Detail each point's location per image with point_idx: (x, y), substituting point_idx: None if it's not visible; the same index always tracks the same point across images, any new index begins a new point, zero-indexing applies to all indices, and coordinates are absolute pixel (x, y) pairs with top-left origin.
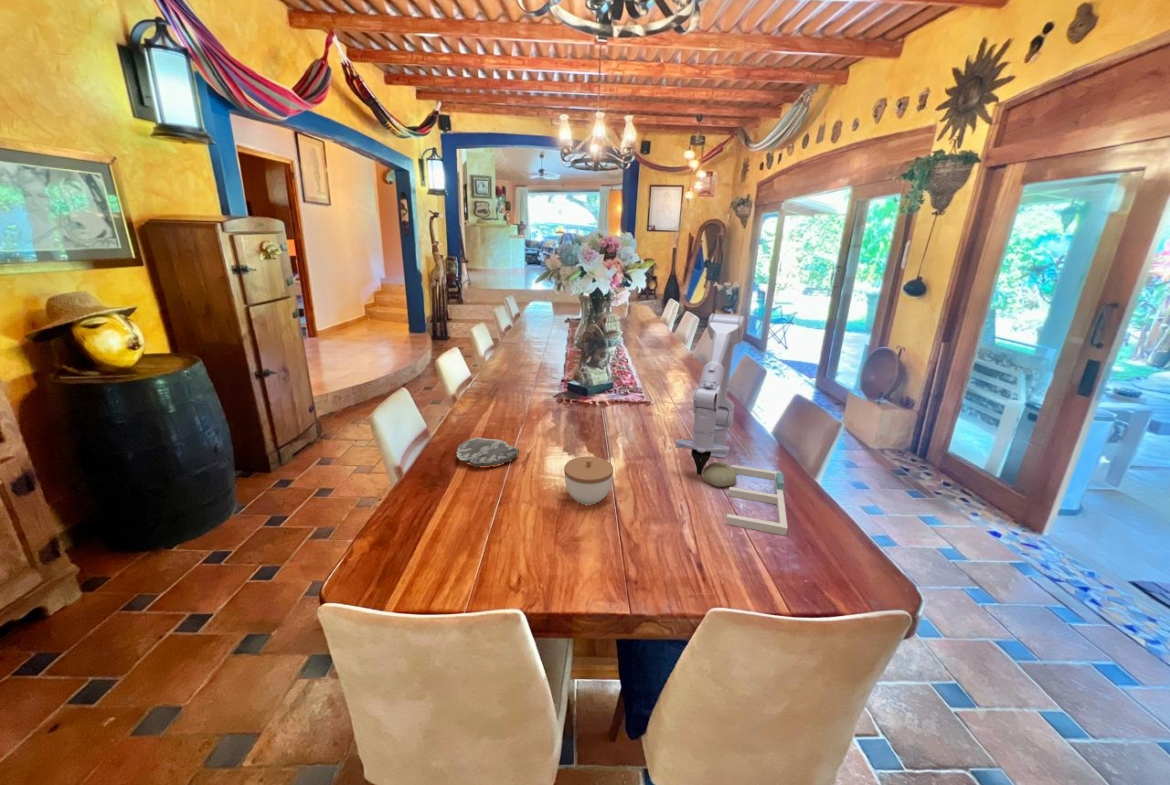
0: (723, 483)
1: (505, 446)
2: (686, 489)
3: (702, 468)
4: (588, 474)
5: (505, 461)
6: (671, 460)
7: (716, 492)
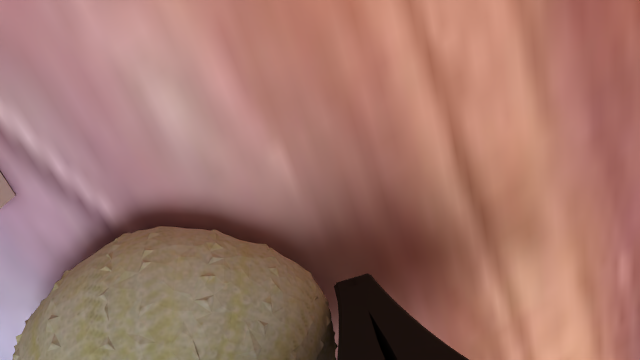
0: (79, 264)
1: None
2: (387, 36)
3: (345, 333)
4: None
5: None
6: (553, 348)
7: (122, 146)
